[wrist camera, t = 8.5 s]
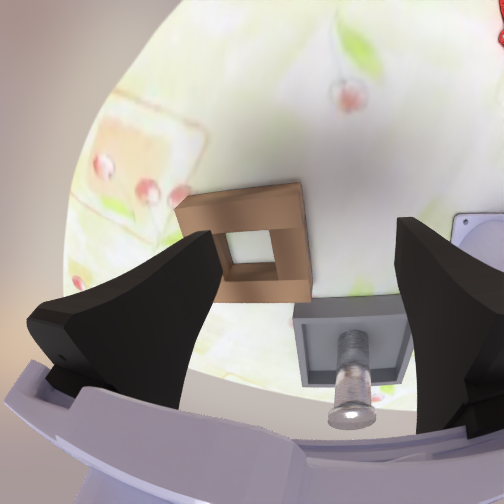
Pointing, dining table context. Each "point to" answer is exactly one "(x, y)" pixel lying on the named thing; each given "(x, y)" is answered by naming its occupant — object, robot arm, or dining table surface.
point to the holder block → (251, 219)
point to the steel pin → (352, 383)
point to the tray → (352, 318)
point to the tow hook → (503, 2)
